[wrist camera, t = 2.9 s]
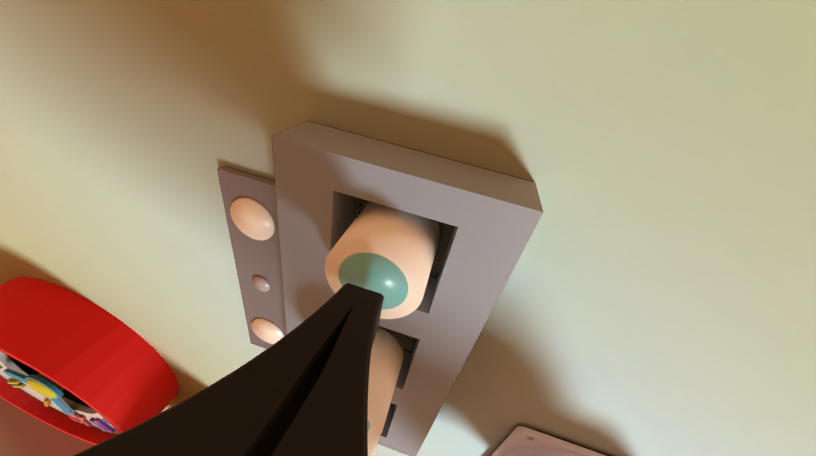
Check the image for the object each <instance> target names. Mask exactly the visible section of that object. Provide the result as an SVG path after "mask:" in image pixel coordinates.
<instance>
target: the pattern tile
mask: <svg viewBox="0 0 816 456" xmlns="http://www.w3.org/2000/svg"><path fill="white" fill-rule="evenodd" d="M217 170H218V175H219V181H220V186H221V191H222V196H223V201H224V207H225V212H226V217H227V222H228V227H229V232H230V238H231V243H232V248H233V253H234V258H235V263H236V269H237V274H238V279H239V284H240V289H241V294H242V300H243V305H244V310H245V315H246V320H247V325H248V331H249V336H250V341H251V343H252V344H255V345H257V346H260V347H263V348H266V349H268V348H269V347H271V346H272V345H273V344H275V343H276V342H277V341H279V340H280V339H281V338H283V337H284V336H285V335H287V330H286V317H285V303H284V290H283V277H282V264H281V251H280V238H279V225H278V212H277V199H276V186H275V181H272V180H268V179H265V178H262V177H258V176H255V175H251V174H248V173H245V172H241V171H238V170H234V169H231V168H228V167H224V166H222V167H220V168H218V169H217Z"/></svg>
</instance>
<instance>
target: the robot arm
mask: <svg viewBox="0 0 816 456" xmlns="http://www.w3.org/2000/svg"><path fill="white" fill-rule="evenodd" d="M383 300H384V296H383V295H382V294H381V293H378V292H374V291H371V290H368V289H365V288H362V287H359V286H356V285H353V284H350V283H347V284H344V285H343V286H342V287H341V288H340V289H339V290H338V291H337V292H336V293H335V294H334V295H333V296H332V297H331V298H330V299H329V300H328V301H327V302H326V303H324V304H323V305H322V306H321V307H320V308H319V309H318V310H317V311H315V312H314V313H313V314H312V315H311V316H309V317H308V318H307V319H306V320H304V321H303V322H302V323H301V324H300V325H298V326H297V327H296V328H295V329H293V330H292V331H291V332H289V333H288V334H287V335H285V336H284V337H283V338H281V339H280V340H279V341H277V342H276V343H275V344H273V345H272V346H271V347H269V348H268V349H267V350H265V351H264V352H262V353H261V354H259V355H258V356H256V357H255V358H254V359H252V360H251V361H249V362H247V363H246V364H244V365H243V366H241V367H240V368H238V369H237V370H235V371H234V372H232V373H230V374H229V375H227V376H225V377H224V378H222V379H220V380H219V381H217V382H216V383H214V384H212V385H211V386H209V387H207V388H205V389H204V390H202V391H200V392H199V393H197V394H195V395H193V396H192V397H190V398H188V399H186V400H184V401H182V402H180V403H179V404H177V405H175V406H173V407H171V408H169V409H167V410H165V411H163V412H162V413H160V414H158V415H156V416H154V417H152V418H150V419H148V420H147V421H145V422H143V423H141V424H139V425H137V426H135V427H133V428H131V429H129V430H127V431H124V432H122V433H120V434H118V435H116V436H114V437H112V438H110V439H108V440H106V441H103V442H101V443H99V444H97V445H95V446H93V447H91V448H89V449H87V450H84V451H82V452H80V453H78V454H76V455H74V456H368V427H367V421H368V385H369V369H370V358H371V350H372V345H373V342H374V339H375V336H376V333H377V330H378V325H379V320H380V315H381V310H382V305H383ZM491 456H606V455H603V454H600V453H597V452H595V451H592V450H589V449H586V448H583V447H580V446H578V445H575V444H572V443H569V442H566V441H563V440H561V439H558V438H555V437H552V436H549V435H546V434H544V433H541V432H538V431H535V430H532V429H529V428H527V427H523V426H519V427H517V428H515V430H514V431H513V432H512V433H511V434H510V435H509V436H508V437H507V438H506V440H505V441H504V442H503V443H502V444H501V445H500V446H499V447H498V449H497V450H496V451H495V452H494V453H493V454H492V455H491Z"/></svg>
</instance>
